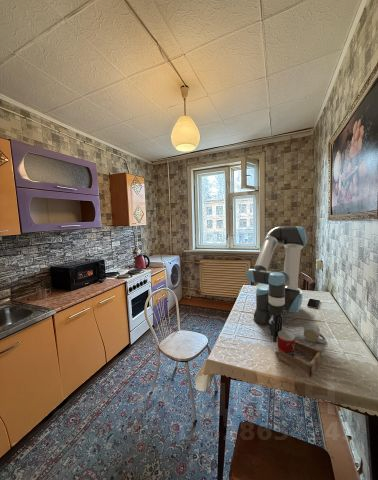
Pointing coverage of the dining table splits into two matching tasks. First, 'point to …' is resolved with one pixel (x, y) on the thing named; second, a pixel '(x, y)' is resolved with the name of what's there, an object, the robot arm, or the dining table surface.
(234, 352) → the dining table surface
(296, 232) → the robot arm
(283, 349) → the canned food
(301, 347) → the frame
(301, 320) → the dining table surface
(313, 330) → the ceramic mug
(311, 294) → the dining table surface
